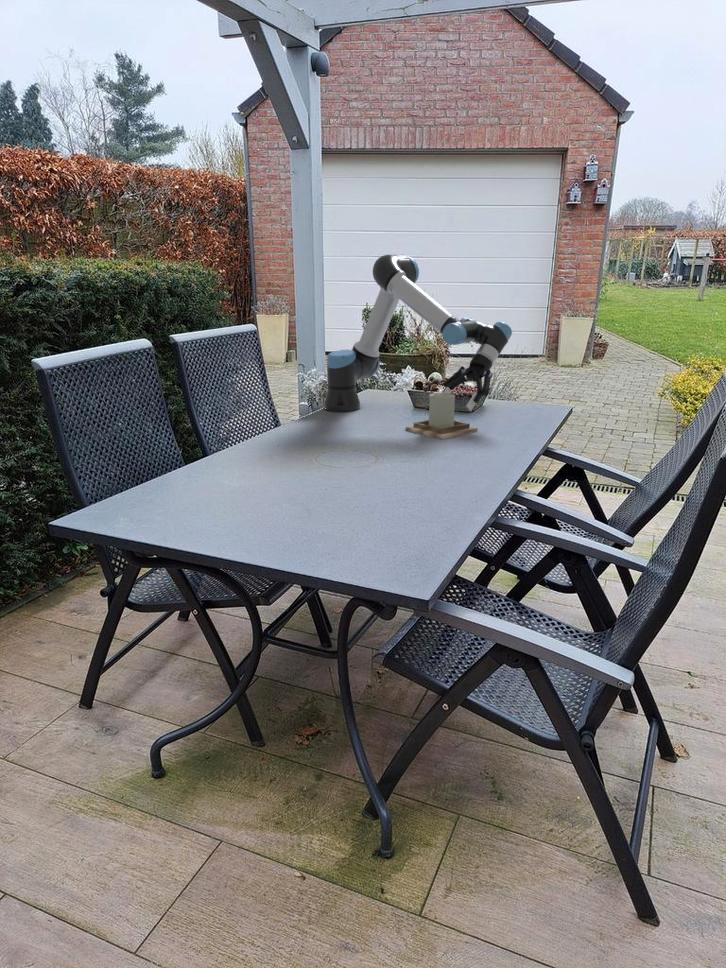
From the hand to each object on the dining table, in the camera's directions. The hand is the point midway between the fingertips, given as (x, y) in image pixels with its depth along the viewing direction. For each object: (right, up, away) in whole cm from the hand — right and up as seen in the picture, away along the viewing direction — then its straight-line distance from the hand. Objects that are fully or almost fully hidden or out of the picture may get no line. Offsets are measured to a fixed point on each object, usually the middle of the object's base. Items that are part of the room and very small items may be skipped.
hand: (453, 406), depth 228 cm
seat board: (-5, -9, -1) cm, 10 cm away
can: (-5, -8, -1) cm, 9 cm away
